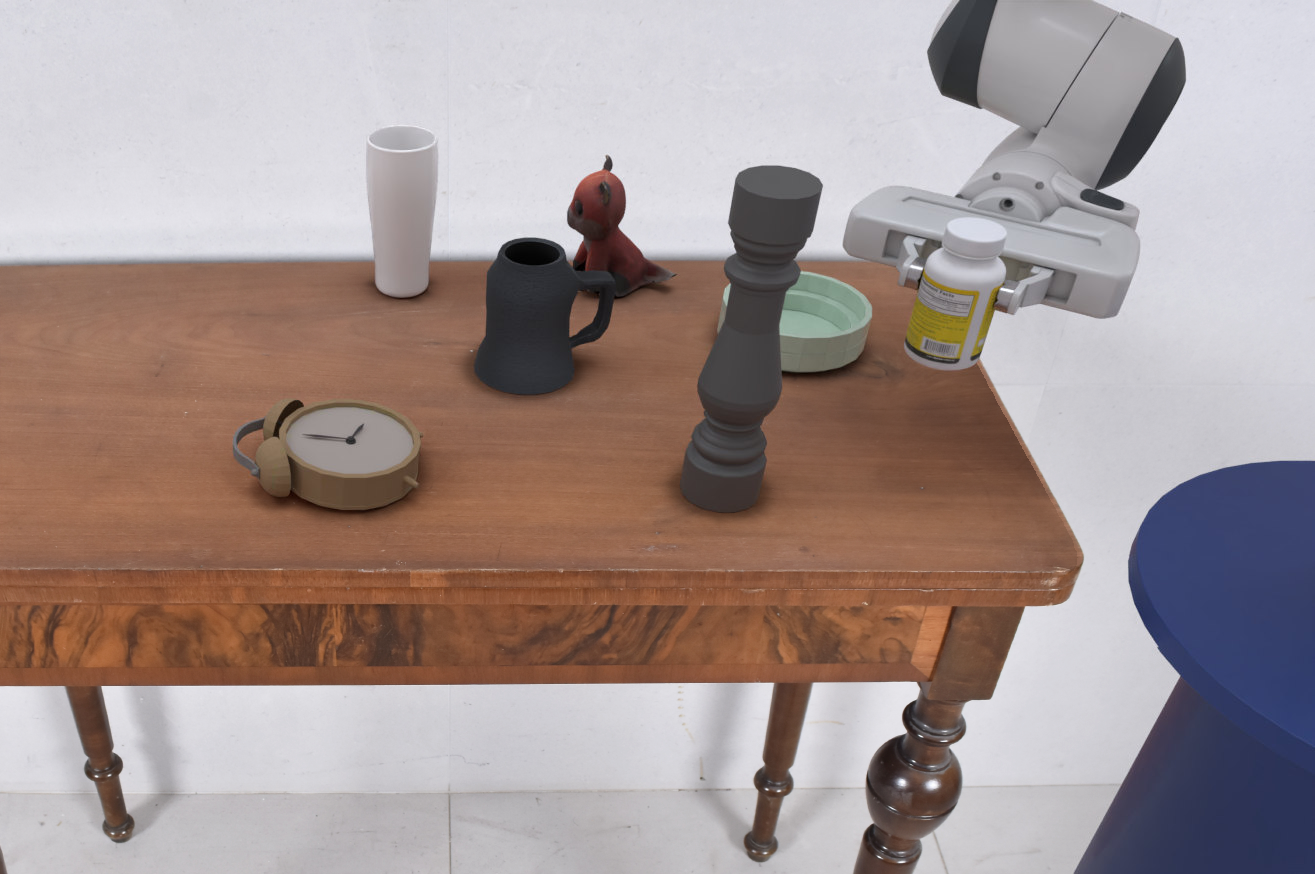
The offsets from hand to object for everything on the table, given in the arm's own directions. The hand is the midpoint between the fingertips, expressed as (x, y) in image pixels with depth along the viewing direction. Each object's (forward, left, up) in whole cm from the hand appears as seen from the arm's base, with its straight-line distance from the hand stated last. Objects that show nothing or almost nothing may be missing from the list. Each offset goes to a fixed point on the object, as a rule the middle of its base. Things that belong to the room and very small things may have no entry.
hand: (957, 290), depth 91 cm
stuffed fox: (+34, -19, -17) cm, 42 cm away
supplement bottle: (0, -1, -6) cm, 6 cm away
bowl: (+16, -18, -17) cm, 29 cm away
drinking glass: (+52, -7, -17) cm, 55 cm away
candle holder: (+12, +8, -17) cm, 22 cm away
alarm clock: (+39, +24, -17) cm, 48 cm away
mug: (+33, -1, -17) cm, 37 cm away
